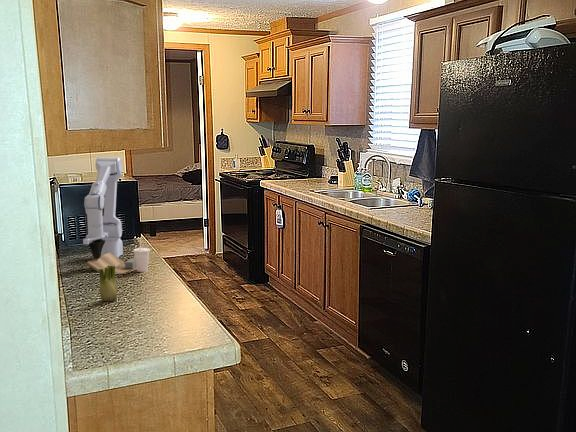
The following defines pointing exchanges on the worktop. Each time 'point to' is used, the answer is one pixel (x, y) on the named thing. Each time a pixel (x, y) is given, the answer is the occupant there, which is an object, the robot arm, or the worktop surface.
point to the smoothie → (141, 258)
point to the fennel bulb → (108, 283)
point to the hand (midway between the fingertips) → (97, 258)
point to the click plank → (104, 262)
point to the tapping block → (130, 263)
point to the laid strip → (122, 269)
